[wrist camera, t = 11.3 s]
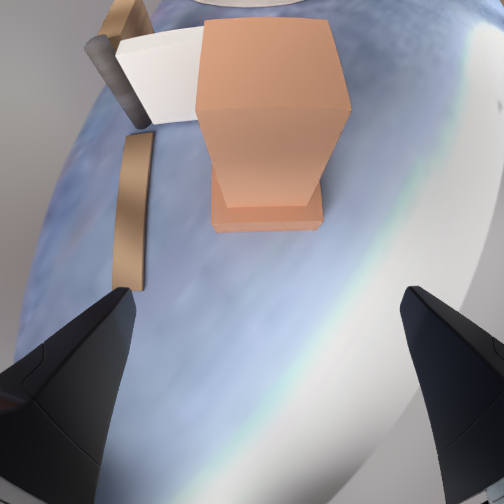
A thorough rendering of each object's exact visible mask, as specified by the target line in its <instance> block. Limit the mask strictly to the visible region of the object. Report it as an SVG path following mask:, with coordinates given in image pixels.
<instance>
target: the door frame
mask: <svg viewBox="0 0 504 504" xmlns="http://www.w3.org/2000/svg"><path fill="white" fill-rule="evenodd" d="M154 33H155V32H154V30H153V27H152V24H151V21H150V19H149V16H148V13H147V11H146V8H145V5H144V2H143V0H115V1H114V3H113V5H112V6H111V8H110V10H109V12H108V14H107V16H106V18H105V20H104V22H103V24H102V27H101V28H100V31H99V33H98V35H97V36H95V37H93V38H92V39H91V40H89V41H88V42H87V43H86V45H85V47H84V50H85V52H86V53H87V55H88V56H89V58H90V59H91V61H92V62H93V64H94V66H95V67H96V69H97V70H98V71H99V73H100V74H101V76H102V78H103V79H104V81H105V82H106V84H107V85H108V87H109V88H110V90H111V91H112V93H113V94H114V96H115V98H116V99H117V101H118V102H119V104H120V105H121V107H122V108H123V110H124V111H125V113H126V114H127V115H128V117H129V118H130V120H131V121H132V123H133V124H134V126H135V127H136V128H137V129H145V128H147V127H148V126H149V125H150V124H151V119H150V117H149V115H148V114H147V112H146V110H145V108H144V107H143V105H142V103H141V101H140V100H139V98H138V96H137V94H136V92H135V91H134V89H133V87H132V85H131V83H130V82H129V80H128V78H127V76H126V75H125V73H124V71H123V69H122V67H121V65H120V64H119V62H118V60H117V58H116V56H115V55H116V52H117V49H118V47H119V44H120V41H122V40H126V39H130V38H135V37H139V36H144V35H149V34H154ZM153 139H154V134H153V132H150V133H143V134H136V135H129V136H126V139H125V145H124V151H123V158H122V165H121V172H120V180H119V188H118V198H117V208H116V219H115V232H114V249H113V276H112V290H114V289H115V288H117V287H129V288H130V289H131V291H144V250H145V227H146V211H147V197H148V185H149V174H150V165H151V155H152V147H153Z"/></svg>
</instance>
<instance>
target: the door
mask: <svg viewBox="0 0 504 504" xmlns="http://www.w3.org/2000/svg"><path fill="white" fill-rule="evenodd" d="M203 30H204V26H200V27H192V28H184V29H177V30H171V31H165V32H159V33H154V34H149V35H144V36H139V37H135V38H130V39H126V40H122V41H120V44H119V47H118V49H117V52H116V55H115V56H116V58H117V60H118V62H119V64H120V65H121V67H122V69H123V71H124V73H125V75H126V76H127V78H128V80H129V82H130V83H131V85H132V87H133V89H134V91H135V92H136V94H137V96H138V98H139V100H140V101H141V103H142V105H143V107H144V108H145V110H146V112H147V114H148V115H149V117H150V119H151V121H152V122H153V124H154V125H155V124H162V123H171V122H180V121H190V120H198V118H197V115H196V112H195V106H196V94H197V84H198V74H199V64H200V55H201V47H202V38H203Z"/></svg>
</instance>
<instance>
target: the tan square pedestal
mask: <svg viewBox="0 0 504 504" xmlns="http://www.w3.org/2000/svg"><path fill="white" fill-rule="evenodd" d="M351 111H352V107H351V103H350V99H349V94H348V90H347V86H346V82H345V78H344V74H343V70H342V67H341V63H340V59H339V56H338V52H337V49H336V46H335V42H334V39H333V36H332V32H331V29H330V26H329V23H328V20H322V19H310V18H291V17H247V18H228V19H215V20H205V23H204V30H203V38H202V47H201V55H200V64H199V74H198V84H197V94H196V106H195V112H196V115H197V118H198V121H199V124H200V127H201V131H202V134H203V137H204V140H205V143H206V146H207V149H208V152H209V155H210V158H211V161H212V198H211V224H212V226H213V228H214V229H215V231H216V233H223V232H255V231H296V230H317V229H318V227H319V226H320V225H321V224H322V222H323V209H322V198H321V187H320V178H321V175H322V173H323V171H324V169H325V167H326V165H327V163H328V161H329V159H330V156H331V154H332V152H333V150H334V148H335V146H336V144H337V141H338V139H339V137H340V135H341V133H342V131H343V128H344V126H345V124H346V122H347V120H348V118H349V115H350V113H351Z"/></svg>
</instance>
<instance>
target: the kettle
mask: <svg viewBox="0 0 504 504" xmlns="http://www.w3.org/2000/svg"><path fill="white" fill-rule="evenodd" d="M195 1H198V2H201V3H204V4H210V5H216V6H222V7H241V8H250V7H271V6H279V5H287V4H292V3H296V2H300V1H304V0H195Z"/></svg>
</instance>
